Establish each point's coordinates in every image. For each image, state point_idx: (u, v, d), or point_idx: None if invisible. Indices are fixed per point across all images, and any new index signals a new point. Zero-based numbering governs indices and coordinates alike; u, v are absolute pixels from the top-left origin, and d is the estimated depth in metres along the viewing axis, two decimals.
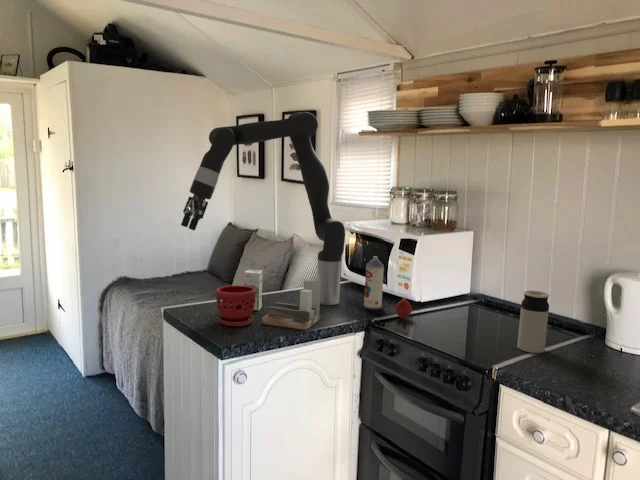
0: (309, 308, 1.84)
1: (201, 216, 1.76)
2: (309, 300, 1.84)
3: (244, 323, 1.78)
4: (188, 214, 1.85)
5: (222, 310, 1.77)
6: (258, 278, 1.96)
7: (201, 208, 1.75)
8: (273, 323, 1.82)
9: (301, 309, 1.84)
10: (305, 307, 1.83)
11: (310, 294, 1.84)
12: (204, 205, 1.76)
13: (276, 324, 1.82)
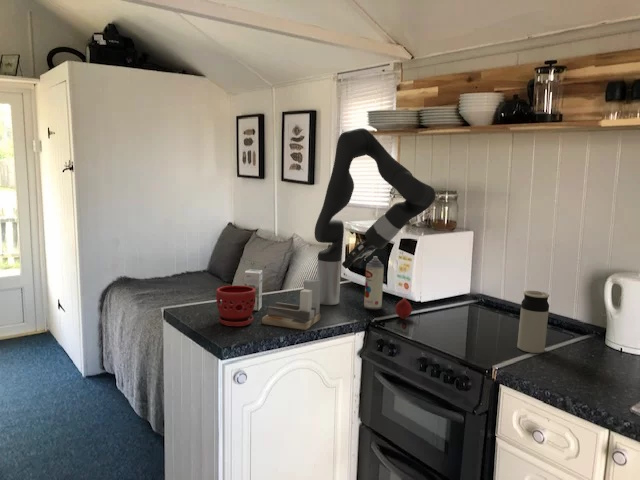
0: (309, 308, 1.84)
1: None
2: (309, 300, 1.84)
3: (244, 323, 1.78)
4: None
5: (222, 310, 1.77)
6: (258, 278, 1.96)
7: None
8: (273, 323, 1.82)
9: (301, 309, 1.84)
10: (305, 307, 1.83)
11: (310, 294, 1.84)
12: None
13: (276, 324, 1.82)
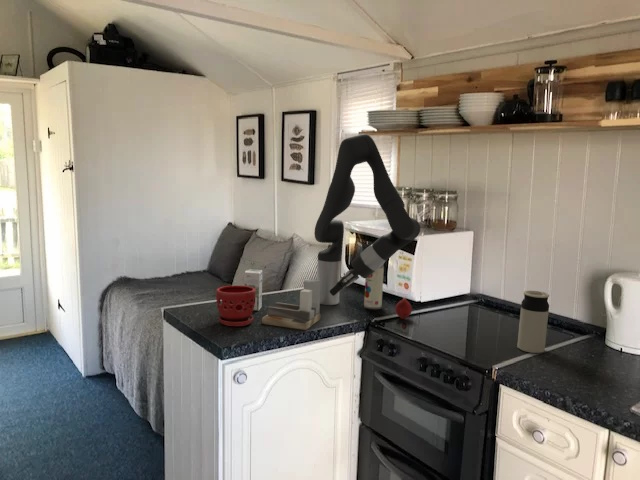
0: (309, 308, 1.84)
1: None
2: (309, 300, 1.84)
3: (244, 323, 1.78)
4: None
5: (222, 310, 1.77)
6: (258, 278, 1.96)
7: None
8: (273, 323, 1.82)
9: (301, 309, 1.84)
10: (305, 307, 1.83)
11: (310, 294, 1.84)
12: None
13: (276, 324, 1.82)
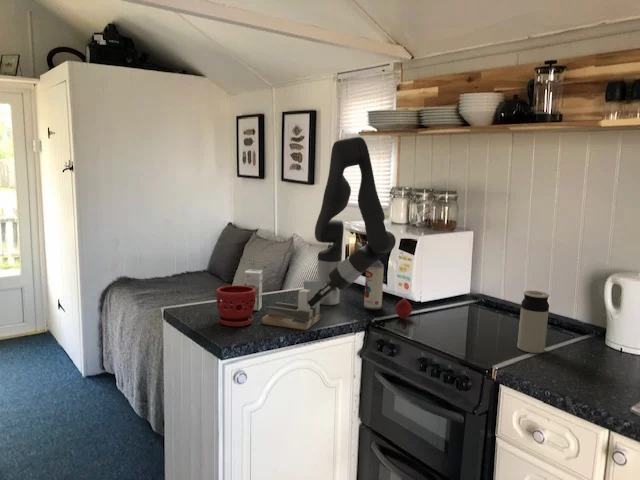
0: (307, 308, 1.84)
1: None
2: (308, 299, 1.84)
3: (244, 323, 1.78)
4: None
5: (222, 310, 1.77)
6: (258, 278, 1.96)
7: None
8: (273, 323, 1.82)
9: (299, 309, 1.84)
10: (303, 307, 1.83)
11: (308, 294, 1.84)
12: None
13: (276, 324, 1.82)
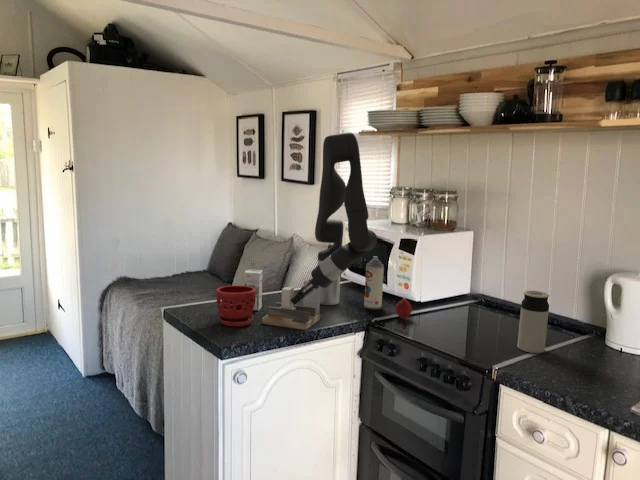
0: (291, 305, 1.86)
1: None
2: (291, 297, 1.86)
3: (244, 323, 1.78)
4: None
5: (222, 310, 1.77)
6: (258, 278, 1.96)
7: None
8: (273, 323, 1.82)
9: (283, 306, 1.86)
10: (287, 304, 1.85)
11: (292, 292, 1.86)
12: None
13: (276, 324, 1.82)
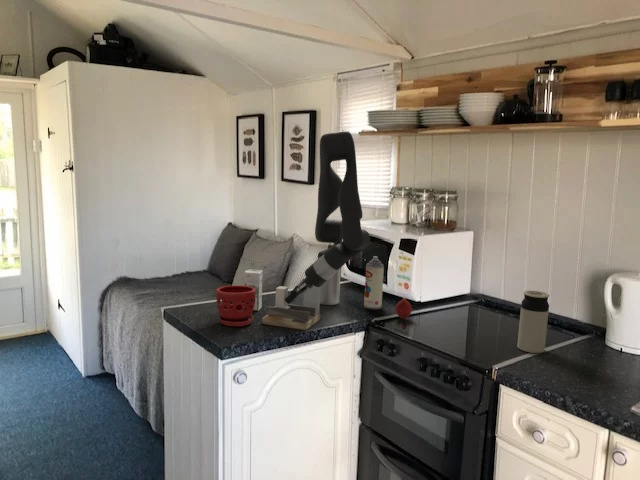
0: (285, 305, 1.87)
1: None
2: (285, 296, 1.87)
3: (244, 323, 1.78)
4: None
5: (222, 310, 1.77)
6: (258, 278, 1.96)
7: None
8: (273, 323, 1.82)
9: (277, 306, 1.87)
10: (281, 304, 1.86)
11: (286, 291, 1.87)
12: None
13: (276, 324, 1.82)
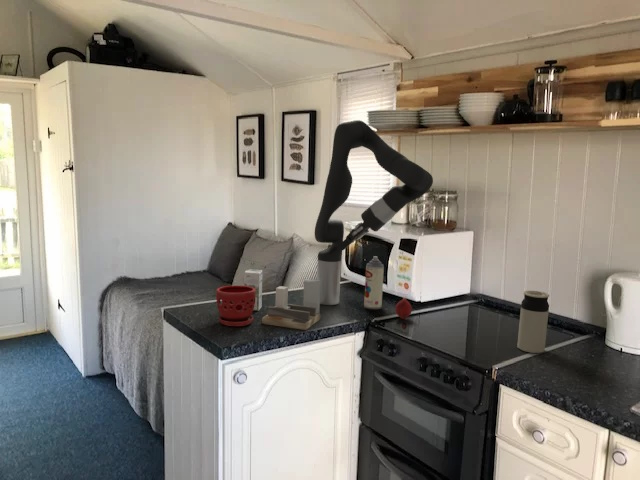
0: (285, 305, 1.87)
1: None
2: (285, 296, 1.87)
3: (244, 323, 1.78)
4: None
5: (222, 310, 1.77)
6: (258, 278, 1.96)
7: None
8: (273, 323, 1.82)
9: (277, 306, 1.87)
10: (281, 304, 1.86)
11: (286, 291, 1.87)
12: None
13: (276, 324, 1.82)
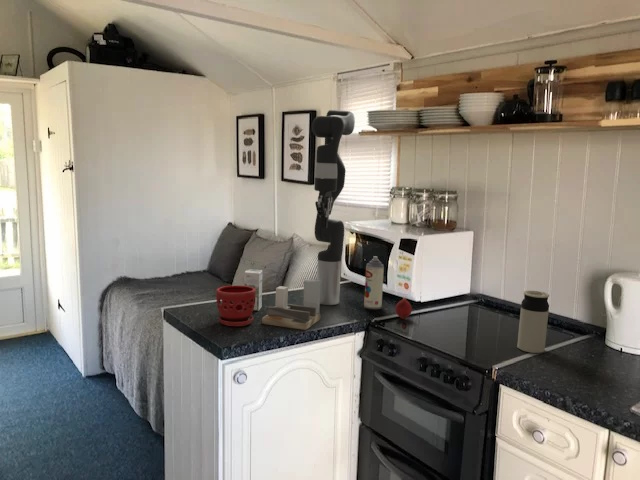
0: (285, 305, 1.87)
1: None
2: (285, 296, 1.87)
3: (244, 323, 1.78)
4: None
5: (222, 310, 1.77)
6: (258, 278, 1.96)
7: None
8: (273, 323, 1.82)
9: (277, 306, 1.87)
10: (281, 304, 1.86)
11: (286, 291, 1.87)
12: None
13: (276, 324, 1.82)
